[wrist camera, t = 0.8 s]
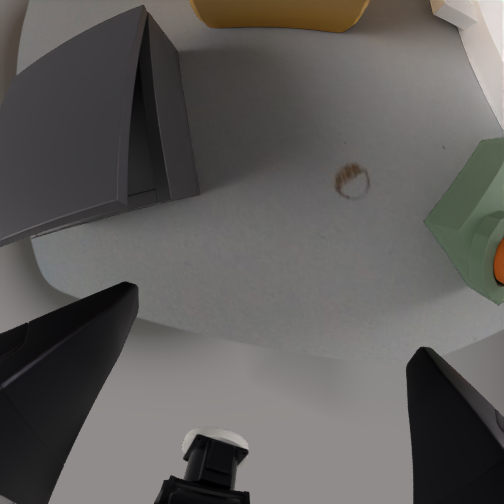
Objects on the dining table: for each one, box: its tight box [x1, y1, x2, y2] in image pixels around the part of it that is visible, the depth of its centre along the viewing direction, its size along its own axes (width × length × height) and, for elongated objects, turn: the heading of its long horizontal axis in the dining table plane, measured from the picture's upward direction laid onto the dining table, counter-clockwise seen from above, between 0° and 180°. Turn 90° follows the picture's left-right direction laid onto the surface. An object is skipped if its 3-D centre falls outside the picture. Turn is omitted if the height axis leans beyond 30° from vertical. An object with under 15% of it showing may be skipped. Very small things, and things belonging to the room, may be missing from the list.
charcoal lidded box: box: [30, 12, 200, 239], centre depth 17 cm, size 13×12×7 cm
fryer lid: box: [0, 5, 147, 247], centre depth 11 cm, size 13×12×1 cm
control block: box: [424, 138, 504, 305], centre depth 17 cm, size 12×9×7 cm
